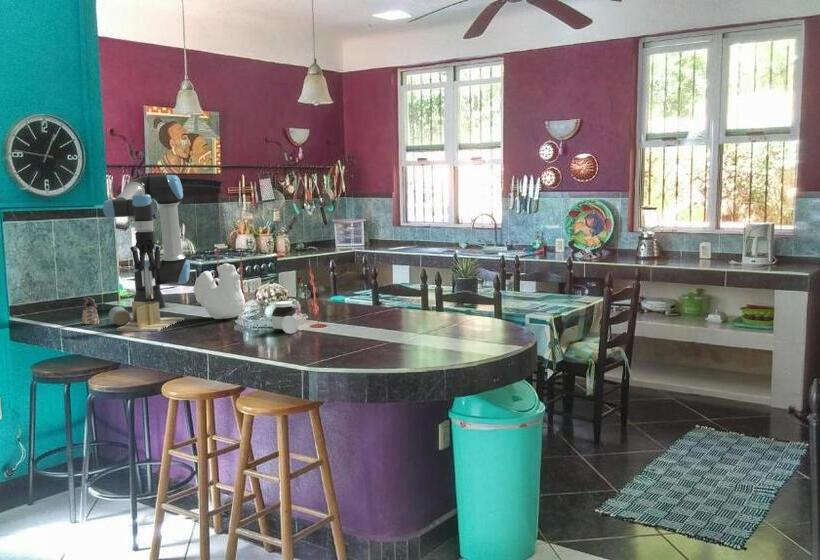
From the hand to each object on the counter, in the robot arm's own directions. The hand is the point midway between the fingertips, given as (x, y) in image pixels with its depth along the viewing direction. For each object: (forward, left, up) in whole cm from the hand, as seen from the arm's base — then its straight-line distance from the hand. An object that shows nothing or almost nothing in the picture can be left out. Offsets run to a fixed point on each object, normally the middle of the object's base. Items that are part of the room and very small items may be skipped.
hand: (148, 285), depth 333 cm
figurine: (-5, -32, -18) cm, 37 cm away
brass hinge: (+3, -4, -17) cm, 17 cm away
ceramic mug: (-4, -16, -18) cm, 24 cm away
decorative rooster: (-18, +24, -18) cm, 35 cm away
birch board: (-1, -1, -18) cm, 18 cm away
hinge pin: (0, 0, -6) cm, 6 cm away
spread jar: (+12, +65, -18) cm, 68 cm away
